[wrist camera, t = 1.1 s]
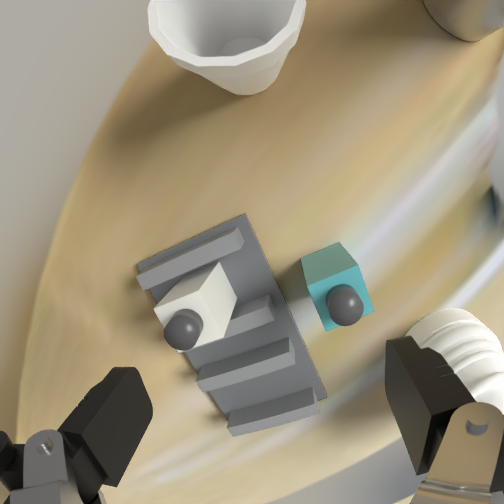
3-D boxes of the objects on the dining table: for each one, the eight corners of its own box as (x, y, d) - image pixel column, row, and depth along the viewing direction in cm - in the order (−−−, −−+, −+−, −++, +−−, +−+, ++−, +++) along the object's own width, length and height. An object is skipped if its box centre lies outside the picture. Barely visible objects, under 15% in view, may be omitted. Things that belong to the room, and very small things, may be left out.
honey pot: (479, 377, 32) (544, 464, 15) (394, 412, 34) (434, 524, 17) (481, 292, 30) (581, 369, 12) (383, 329, 32) (450, 449, 14)
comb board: (245, 213, 30) (240, 218, 26) (326, 392, 34) (330, 414, 30) (140, 262, 32) (123, 273, 28) (232, 420, 36) (228, 442, 32)
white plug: (219, 261, 30) (191, 301, 21) (237, 298, 31) (218, 351, 21) (182, 276, 31) (143, 319, 21) (201, 312, 32) (170, 366, 22)
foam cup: (217, 126, 28) (174, 93, 16) (184, 48, 27) (131, -13, 14) (312, 89, 27) (333, 33, 14) (273, 13, 25) (267, -67, 13)
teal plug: (339, 242, 30) (364, 272, 20) (353, 279, 31) (381, 322, 21) (300, 258, 31) (309, 296, 21) (315, 294, 31) (329, 344, 22)
